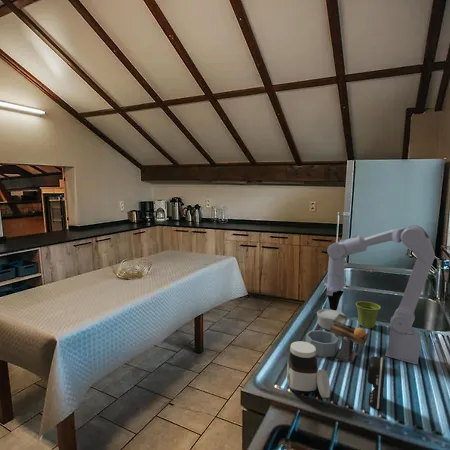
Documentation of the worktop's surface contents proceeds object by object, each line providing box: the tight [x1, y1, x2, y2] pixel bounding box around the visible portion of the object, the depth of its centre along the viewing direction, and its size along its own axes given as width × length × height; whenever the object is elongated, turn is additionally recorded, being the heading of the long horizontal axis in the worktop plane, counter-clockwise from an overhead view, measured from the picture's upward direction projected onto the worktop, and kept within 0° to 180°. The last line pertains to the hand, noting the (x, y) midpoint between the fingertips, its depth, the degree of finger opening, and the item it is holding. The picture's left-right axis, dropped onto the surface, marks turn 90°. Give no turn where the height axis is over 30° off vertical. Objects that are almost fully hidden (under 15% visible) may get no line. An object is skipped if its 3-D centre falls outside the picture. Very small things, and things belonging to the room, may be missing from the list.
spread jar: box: [286, 340, 331, 399], centre depth 89 cm, size 12×11×12 cm
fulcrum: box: [335, 335, 358, 364], centre depth 108 cm, size 5×8×8 cm, turn 146°
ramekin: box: [316, 308, 346, 331], centre depth 132 cm, size 11×11×5 cm
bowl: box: [304, 329, 340, 358], centre depth 112 cm, size 10×10×4 cm
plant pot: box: [355, 300, 382, 329], centre depth 134 cm, size 9×9×9 cm
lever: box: [329, 314, 370, 347], centre depth 112 cm, size 12×16×3 cm
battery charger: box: [366, 355, 386, 410], centre depth 85 cm, size 7×4×11 cm, turn 152°
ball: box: [353, 327, 367, 339], centre depth 105 cm, size 4×4×4 cm
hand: (333, 309), depth 122 cm, fingers closed
